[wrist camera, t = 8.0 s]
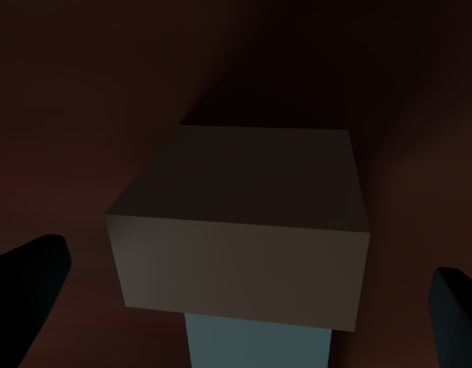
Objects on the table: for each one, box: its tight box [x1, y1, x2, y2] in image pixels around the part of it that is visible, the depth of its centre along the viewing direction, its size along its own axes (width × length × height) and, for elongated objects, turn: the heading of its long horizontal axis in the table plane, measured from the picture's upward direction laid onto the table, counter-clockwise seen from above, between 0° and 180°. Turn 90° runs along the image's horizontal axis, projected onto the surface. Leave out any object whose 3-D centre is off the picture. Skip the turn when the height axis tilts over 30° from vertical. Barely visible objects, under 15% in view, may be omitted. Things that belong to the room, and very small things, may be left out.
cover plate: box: [104, 125, 370, 368], centre depth 15 cm, size 16×6×6 cm, turn 2°
